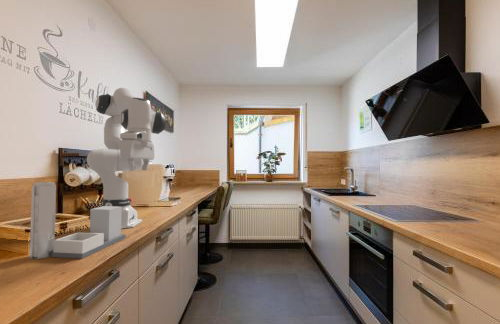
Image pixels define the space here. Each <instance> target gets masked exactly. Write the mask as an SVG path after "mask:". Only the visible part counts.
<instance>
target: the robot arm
mask: <svg viewBox="0 0 500 324" xmlns="http://www.w3.org/2000/svg"><path fill="white" fill-rule="evenodd" d="M94 105H95V110H96V112H98V113H99V114H101V115H105V116H109V117H108V118H107V119H106V120H105V123H104V127H103V143H104V144H103V145H105V148H100V149H99V148H98V149H92V150H91V151H89V152H88V155H87V156H86V163H87V166H88V167H89V168H90V169H91V170H92V171H94V172H95V173H96V174H97V175H98V176H99V178H100V179H101V182H102V186H103V198H102V202H101V203H102V205H101V207H102V206H118V207H122V213H121V230H122V229H127V228H128V229H129V228H134V227H136V226H137V225H139V224H140V223H142V222H143V219H141V218H138V210H136V209H135V208H134V207H133V206H131V203H133V201H134V199H133V197H129V183H128V182H127V180H126V179H123V178H121V177H119V176H117V175H116V172H132V171H133V172H134V171H139V170H142V171H147V170H148V166H149V164H150V160H151V161H152V160H154V159H155V146H154V144H153V142H152V134H157V135H159V134H160V133H162V132H163V131H164V130H165V129H166V126H167V122H166V121H167V120H166V117H165V115H164V114H163V113H162V112H161V111H156V110H155V109H154V108H153V107H152V106H151V102H150V100H149V99H147V98H141V97H138V96H136V95H135V94H134V92H133V91H131V90H130V89H129V88H125V87H119V88H117V89H115V90H114V91H113V94H112V95H111V94H109V93H106V94H101V95H98V97H97V98H96V99H95V103H94Z"/></svg>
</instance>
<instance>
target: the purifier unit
mask: <svg viewBox="0 0 500 324" xmlns="http://www.w3.org/2000/svg"><path fill="white" fill-rule="evenodd" d="M89 211H90V214H89V219H90V220H89V221H90V222H89V232H80V231H79V232H75V233H72V234H69V235H66V236H63V237H60V238H55V240H54V246H53V252H52V256H51V257H52V258H63V259H65V258H67V259H82V260H83V259H84V258H87V257H88V256H91V255H92V254H95V253H98V252H99V251H101V250H103V249H105V248H107V247H109V246H112V245H114V244H117V243H118V242H120V241H122V240H124V239H126V237H127V235H126V234H122V229H121V213H122V207H118V206H102V205H101V206H97V207H94V208H91V209H90V210H89Z"/></svg>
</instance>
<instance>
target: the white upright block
mask: <svg viewBox="0 0 500 324" xmlns="http://www.w3.org/2000/svg"><path fill="white" fill-rule="evenodd" d="M56 205H57V184H56V182H55V181H54V182H53V181H40V182H33V185H31V205H30V207H31V208H30V235H29V236H30V237H29V238H30V239H29V240H30V241H29V259H31V260H41V259H46V258H50V257H52V252H53V246H54V240H56V215H57V214H56V211H57V210H56Z"/></svg>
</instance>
